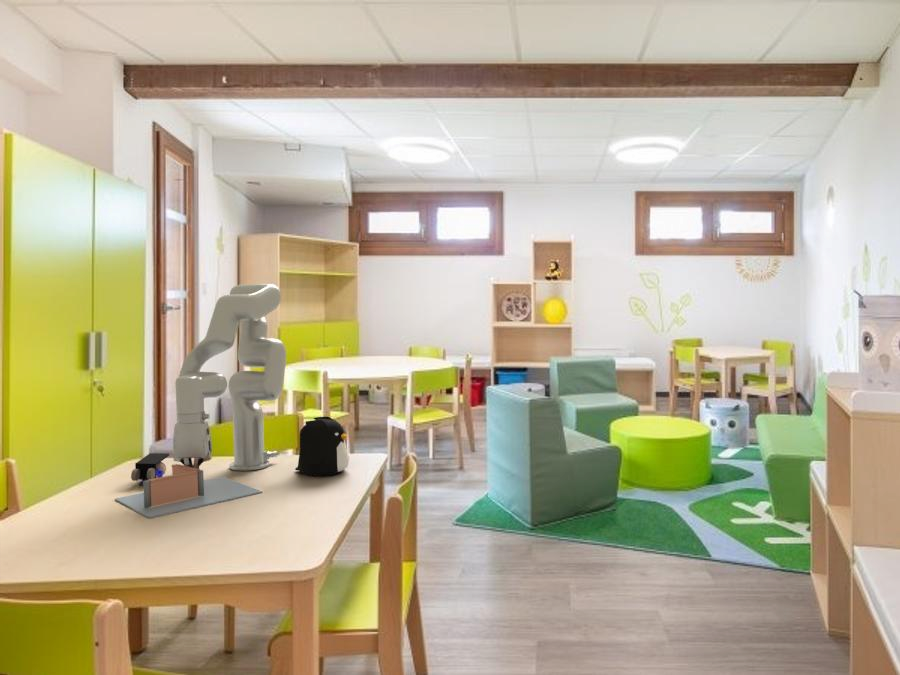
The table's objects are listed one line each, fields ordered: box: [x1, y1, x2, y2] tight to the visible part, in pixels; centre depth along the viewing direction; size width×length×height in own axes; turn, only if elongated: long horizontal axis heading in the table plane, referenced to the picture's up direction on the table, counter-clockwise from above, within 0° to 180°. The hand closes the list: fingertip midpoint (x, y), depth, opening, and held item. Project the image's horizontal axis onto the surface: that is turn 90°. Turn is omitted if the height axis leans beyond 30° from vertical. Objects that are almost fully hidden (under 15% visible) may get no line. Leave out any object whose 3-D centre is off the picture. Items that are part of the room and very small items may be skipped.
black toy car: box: [130, 452, 170, 487], centre depth 217 cm, size 7×8×15 cm
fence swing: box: [171, 463, 201, 475], centre depth 204 cm, size 12×2×7 cm, turn 53°
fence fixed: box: [142, 469, 204, 508], centre depth 194 cm, size 16×2×8 cm, turn 134°
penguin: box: [295, 416, 350, 477], centre depth 225 cm, size 18×18×17 cm
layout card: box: [114, 476, 263, 519], centre depth 200 cm, size 32×24×1 cm
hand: (193, 480), depth 207 cm, fingers closed
